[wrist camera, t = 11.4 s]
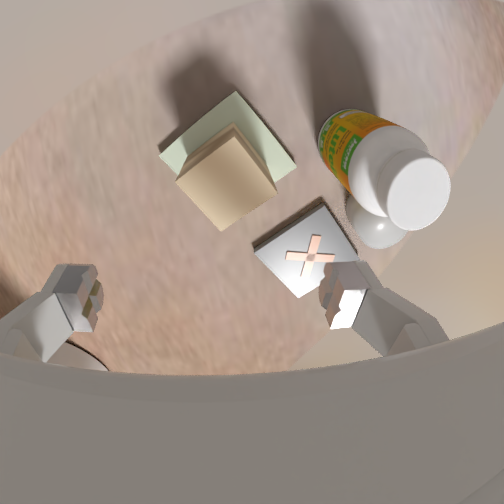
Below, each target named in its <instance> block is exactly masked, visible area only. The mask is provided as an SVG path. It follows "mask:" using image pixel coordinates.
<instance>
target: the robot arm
mask: <svg viewBox="0 0 504 504" xmlns="http://www.w3.org/2000/svg"><path fill="white" fill-rule="evenodd" d="M323 272H324V275H325V277H324V278H323V279H322V280H321V281H320V285H319V300H320V303H321V306H322V307H324V308H325V309H326V310H327V311H326V314H325V316H326V318H327V321H328V323H329V326H330V328H331V329H333V328H344V327H352V329H353V330H354V331H356V332H357V333H358V334H359V335H360V336H361V337H362V338H363V339H365V340H366V341H367V342H368V343H369V344H370V345H371V346H372V347H373V348H375V350H377V351H378V352H379V353H380V354H381V355H382V356H383V357H380V358H374V359H369V360H363V361H358V362H352V363H346V364H339V365H333V366H326V367H318V368H310V369H302V370H294V371H282V372H270V373H256V374H238V375H155V374H137V373H123V372H112V371H108V370H107V369H106V368H105V367H104V366H103V365H102V364H101V363H100V362H99V361H97V360H96V359H95V358H93V357H92V356H91V355H89V354H87V353H86V352H84V351H82V350H81V349H79V348H77V347H75V346H73V345H70V344H68V343H66V342H65V341H66V340H67V339H68V338H69V337H70V336H71V334H72V333H73V331H80V332H94V329H95V326H96V323H97V320H98V317H97V314H96V313H97V312H98V311H99V310H101V308H102V305H103V298H104V294H103V288H102V285H101V283H100V282H99V281H98V280H97V279H96V278H97V275H98V272H97V269H96V266H94V265H93V264H58V265H56V267H55V268H54V270H53V272H52V273H51V275H50V277H49V278H48V280H47V282H46V283H45V285H44V287H43V289H42V290H41V292H37V293H35V294H34V295H32V296H31V297H30V298H28V299H27V300H25V301H24V302H23V303H21V304H20V305H19V306H17V307H16V308H15V309H13V310H12V311H11V312H9V313H8V314H7V315H5V316H4V317H3V318H1V319H0V504H504V322H502V323H500V324H497V325H494V326H492V327H489V328H486V329H484V330H480V331H477V332H475V333H472V334H468V335H465V336H462V337H459V338H456V339H452V340H449V338H448V337H447V335H446V334H445V332H444V330H443V329H442V327H441V326H440V324H439V322H438V321H437V319H436V318H435V317H433V316H432V315H430V314H429V313H427V312H425V311H424V310H422V309H421V308H419V307H417V306H416V305H414V304H413V303H411V302H409V301H408V300H406V299H405V298H403V297H401V296H400V295H398V294H397V293H395V292H393V291H391V290H390V289H388V288H384V287H383V286H382V284H381V283H380V281H379V280H378V278H377V277H376V275H375V274H374V272H373V271H372V269H371V268H370V266H369V265H368V263H367V262H366V261H364V260H360V261H351V262H327V263H326V264H325V266H324V270H323Z"/></svg>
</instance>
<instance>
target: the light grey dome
mask: <svg viewBox="0 0 504 504" xmlns="http://www.w3.org/2000/svg"><path fill="white" fill-rule="evenodd" d="M346 215H347V218H348V220H349V222H350V223H351V225H352V226H353V228H354V229H355V231H356V232H357V234H358V235H359V237H360V238H361V240H362V241H363V243H365V244H366V245H367V246H369V247H371V248H375V249H382V248H387V247H390V246H392V245H394V244H396V243H397V242H399V241H400V240H401V239H402V238H403V237H404V236H405V235H406V233H407V232H408V230H404V229H402V228H399V227H398V226H396V225H395V224H394V223H393V222H392V221H391V220H390V219H389V218H388V217H382V216H377V215H375V214H372V213H370V212H369V211H367V210H366V209H364V208H363V207H362V206H361V205H360V204H359V203H358V202H357V201H356V199H355V198H354V197H353V196H352V195H351V193H350V195H349V197H348V199H347V203H346Z"/></svg>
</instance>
